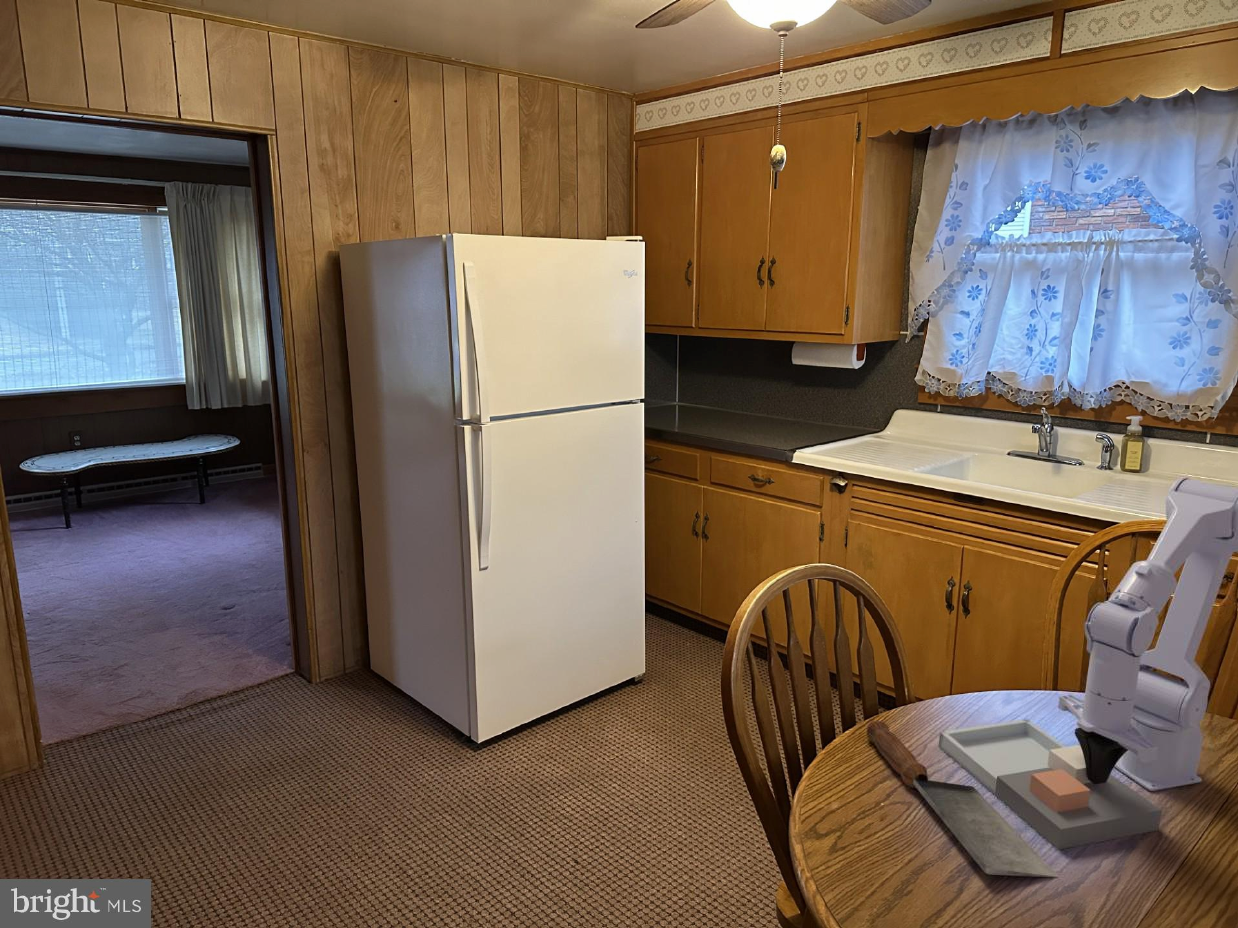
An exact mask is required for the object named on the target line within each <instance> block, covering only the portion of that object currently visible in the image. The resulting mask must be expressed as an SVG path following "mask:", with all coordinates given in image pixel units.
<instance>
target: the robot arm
mask: <svg viewBox="0 0 1238 928" xmlns="http://www.w3.org/2000/svg"><path fill="white" fill-rule="evenodd" d="M1165 517H1166V524H1165V525H1164V527H1163V529H1162V530H1161V532H1160V535H1159V536H1158V538H1157V540H1156V542H1155V544H1154V546H1153V547H1152V550H1151V552H1150V553H1149V555H1148V557H1147V559H1146V560H1140V561H1139V560H1138V561H1136V562H1134V563H1132V565H1131V566H1130V567H1129V569H1128V570H1127V571H1126V573H1125V575H1124V577H1123V578H1122V579H1121V581H1120V583H1118V585H1117V586H1116V588H1115V589H1114V591H1113V592H1112V594H1111V595H1110V596H1109V598H1108V600H1105V601H1103V602H1097V603H1096V604H1094V606H1092V608H1091V610H1090V611H1089V612H1088V615H1087V618H1086V622H1085V623H1084V635H1085V637H1086V640H1087V641H1086V642H1087V643H1086V652H1087V653H1089V654H1090V656H1089V662H1088V663H1089V665H1088V671H1087V675H1086V684H1085V685H1086V686H1085V693H1084V698H1083V699H1080V698H1079V697H1077V696H1074V695H1073V694H1064V695H1060V696H1059V698H1058V699H1059V700H1058V705H1057V706H1058V709H1060V710H1061V711H1063V712H1069V713H1070V714H1071V715H1073V716H1074V717H1075V718H1076V719H1077V721H1076V722H1077V723H1076V726H1077V728H1075V729H1074V735H1075V737H1076V739H1077V741H1078V743H1079V746H1080V747H1081V749H1082V752H1083V755H1084V760H1085V765H1086V772H1087V778H1088V780H1089V781H1091V782H1092V783H1093V784H1101V783H1106V782H1107V780H1108V778H1109V775H1110V774H1111V773H1112V771H1113V769H1114V768H1116V769H1117V770H1118V771H1120V772H1121V773H1123V774H1125V775H1126V776H1127V777H1129V778H1130V779H1132V780H1133V781H1135V782H1136V783H1138V784H1139V785H1140V786H1142V787H1144V788H1145V789H1146V790H1148V791H1151V792H1153V791H1158V790H1159V791H1160V790H1164V789H1171V788H1176V787H1181V786H1187V785H1192V784H1199V783H1201V782H1202V779H1203V778H1202V777H1200V776H1199V775H1198V770H1199V764H1200V758H1201V753H1202V747H1203V741H1204V739H1203V734H1202V730H1201V728H1200V725H1199V724H1200V723H1201V722H1202V720H1203V719H1204V716H1205V714H1206V711H1207V707H1208V697H1209V691H1210V689H1211V682H1210V680H1209V679H1208V678H1209V677H1207V675H1206V674H1205V673H1204V672H1203V670H1202V669H1201V668H1200V666H1199V665H1198V664H1197V662H1196V661H1195V658H1196V655H1197V652H1198V650H1199V647H1200V644H1201V642H1202V639H1203V636H1204V633H1205V630H1206V627H1207V625H1208V622H1209V619H1210V616H1211V614H1212V611H1213V608H1214V605H1215V603H1216V598H1217V596H1218V593H1219V590H1220V588H1221V585H1222V583H1223V582H1222V581H1223V578H1224V577H1225V574H1226V570H1227V569H1228V565H1229V564H1230V560H1231V558H1232V556H1233V554H1234V553H1237V552H1238V487H1232V486H1228V485H1227V486H1226V485H1222V484H1217V483H1211V482H1205V481H1201V480H1195V479H1191V478H1190V477H1184V476H1182V477H1180V478H1178V479H1177V480H1176V481H1174V482H1173V483H1172V484H1171V486H1170V488H1169V489H1168V491H1167V494H1166V500H1165ZM1183 564H1184V565H1183ZM1181 566H1183V568H1182V571H1181V574H1180V576H1179V580H1178V582H1177V579H1176V577H1175V574H1176V572H1177V571H1178V570H1179V569H1180V568H1181ZM1172 595H1173V596H1172ZM1171 597H1172V600H1171V602H1170V605H1169V607H1168V611H1167V613H1166V616H1165V618H1164V622H1163V624H1162V628H1161V631H1160V633H1159V636H1158V639H1157V642H1156V644H1155V648H1152V649H1149V647H1150V646H1151V644H1152V642H1153V639H1154V637H1155V632H1156V629H1157V627H1158V626H1159V623H1160V622H1159V617H1158V616H1159V615H1160V614H1161V612H1162V610H1163V609H1164V607H1165V605H1167V602H1168V601H1169V600H1170V598H1171ZM1148 649H1149V650H1148ZM1152 669H1158V670H1160V671H1163V672H1165V673H1167V674H1168V673H1169V674H1170V675H1174V676H1176V677H1179V678H1181V679H1183V680H1184V681H1185V682H1184V681H1181V680H1179V679H1176V678H1174V677H1171V676H1167V675H1165V674H1162V673H1161V672H1157V671H1154V670H1152Z"/></svg>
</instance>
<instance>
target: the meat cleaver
mask: <svg viewBox="0 0 1238 928" xmlns="http://www.w3.org/2000/svg"><path fill="white" fill-rule="evenodd" d="M866 737H867V739H868V740H869V741H870V742H872V743H873V744H874V745H875V748H876V749H877V751H878V752H879V753H880V754H881V755H882V757H883V758H884V759H885V760H886V761H887V762H888V764H889V765H890V766H891V767H892V768H893V770H894V771H895V772H896V773H898V774H899V775H900V776H901V779H902V782H903V783H904V785H905V786H907V787H910V788H912V789H917V791H919V793H920V794H921V796H922V797H923V798H924V799H925V800H926V801H927V803H928V804H929V806H930V807H931V808H932V809H933V810H934V812H935V813H936V814H937V815H938V816H939V818H940V819H941V820H942V821H943V823H944V824H945V825H946V827H947V828H948V829H949V830H950V832H951V833H952V834H953V836H955V838H956V839H957V840H958V841H959V843H960V844H961V845H962V846H963V847H964V849H965V850H966V851H967V852H968V854H969V855H970V856H971V857H972V858H973V860H974V861H975V863H976V864H977V865H978V866H979V868H980V869H981V870H982V871H983V873H985V874H986V875H995V876H1016V877H1018V876H1019V877H1041V878H1060V876H1059V874H1058V873H1057V872H1055V871H1054V869H1053V868H1052V867H1051V866H1050V865H1049V864H1048V863H1047V862H1046V861H1045V860H1044V859H1043V858H1042V857H1041V856H1040V855H1039V853H1037V851H1035V849H1033V848H1032V846H1031V845H1030V844H1029V843H1028V842H1027V841H1026V840H1025V839H1024V838H1023V837H1022V836H1021V835H1020V834H1019V833H1018V831H1016V829H1014V827H1013V826H1012V825H1011V824H1009V822H1008V821H1007V820H1006V819H1005V818H1004V817H1003V815H1001V814H1000V813H999V812H998V811H997V809H995V808H994V807H993V805H991V803H989V802H988V800H987V799H986V798H985V797H984V796H983V794H981V793H980V792H979V791H978V790H977V789H976V788H975V787H974V786H972V785H965V784H956V783H951V782H950V783H949V782H943V781H936V780H929V779H928V778H929V777H928V770H927V768H926V766H924V765H923V764H922V763H920V762H918V761H917V759H916V757H915V755H913V753H912V752H911V751H910V750H909V749H908V747H907V746H905V744H904V743H903V742H902V741H901V740H900V738H898V737H897V735H896V734H895V733H893V732H892V731H890V728H889V726H888V724H887V723H886V722H884V721H880V720H873V721H870V722H869V723H868V724H867V728H866Z"/></svg>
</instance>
